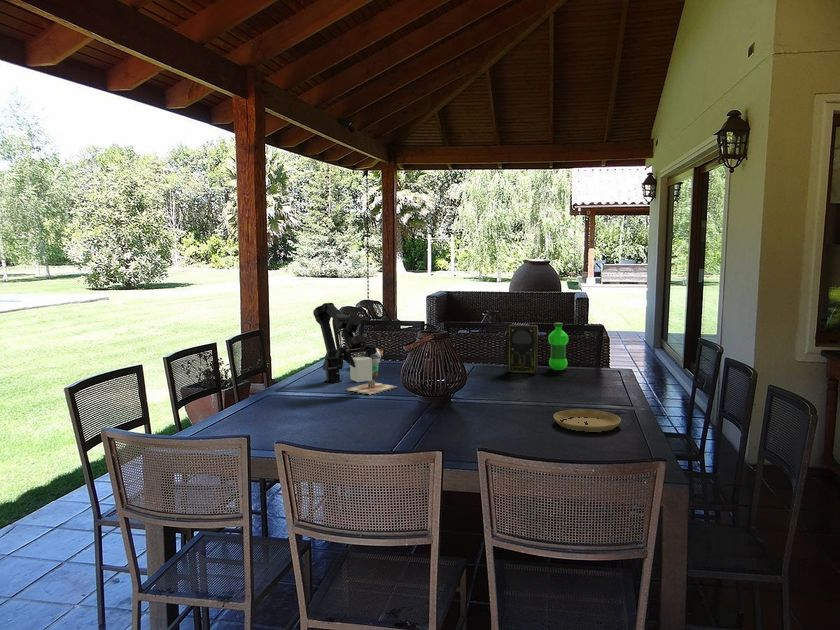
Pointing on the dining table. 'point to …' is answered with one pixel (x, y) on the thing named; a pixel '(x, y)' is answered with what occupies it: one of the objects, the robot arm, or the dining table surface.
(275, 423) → the dining table surface
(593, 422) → the plant saucer
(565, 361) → the plastic bottle
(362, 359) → the block
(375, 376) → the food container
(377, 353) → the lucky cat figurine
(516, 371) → the voltmeter
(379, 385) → the header board
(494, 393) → the dining table surface
